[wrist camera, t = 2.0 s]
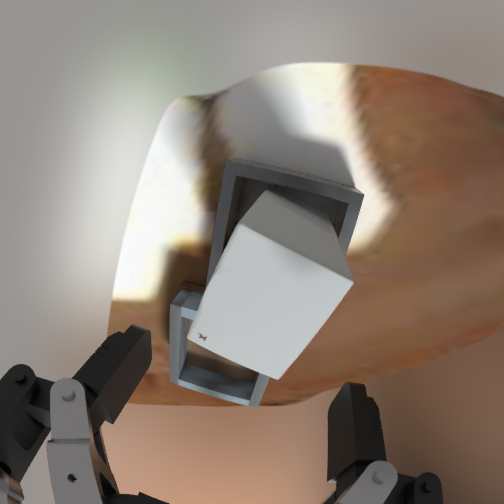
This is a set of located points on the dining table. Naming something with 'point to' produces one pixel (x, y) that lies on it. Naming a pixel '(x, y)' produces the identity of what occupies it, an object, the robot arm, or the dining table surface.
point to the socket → (284, 177)
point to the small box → (272, 285)
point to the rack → (206, 357)
